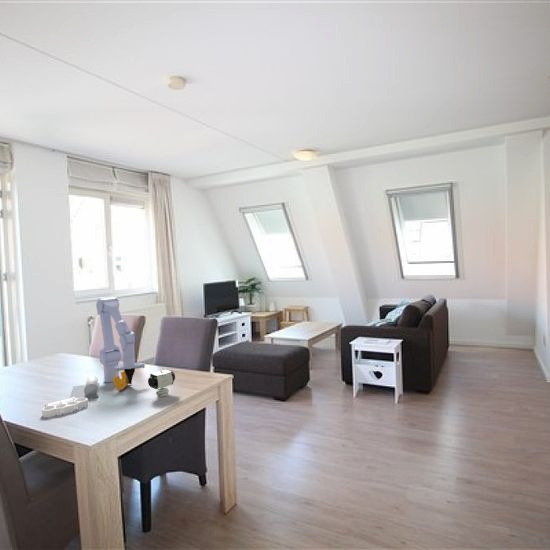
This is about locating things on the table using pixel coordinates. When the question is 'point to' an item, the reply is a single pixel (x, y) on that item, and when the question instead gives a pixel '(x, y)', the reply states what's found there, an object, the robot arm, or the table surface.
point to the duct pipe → (86, 389)
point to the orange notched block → (120, 381)
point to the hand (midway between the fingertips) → (130, 383)
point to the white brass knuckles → (64, 406)
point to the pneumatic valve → (161, 381)
